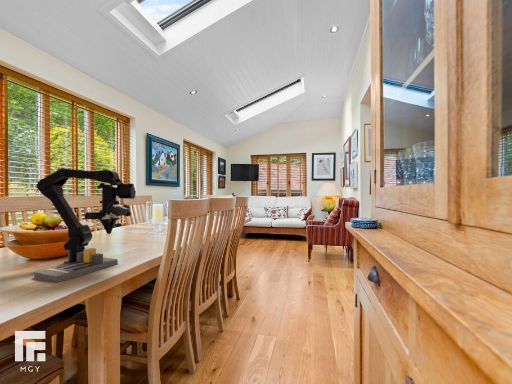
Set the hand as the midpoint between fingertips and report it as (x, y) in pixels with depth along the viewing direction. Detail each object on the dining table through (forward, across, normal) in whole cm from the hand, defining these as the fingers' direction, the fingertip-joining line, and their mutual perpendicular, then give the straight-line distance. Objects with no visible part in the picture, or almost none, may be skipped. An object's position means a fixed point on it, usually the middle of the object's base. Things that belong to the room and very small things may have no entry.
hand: (108, 233), depth 113 cm
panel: (+12, -14, -2) cm, 18 cm away
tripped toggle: (+10, -10, -2) cm, 14 cm away
